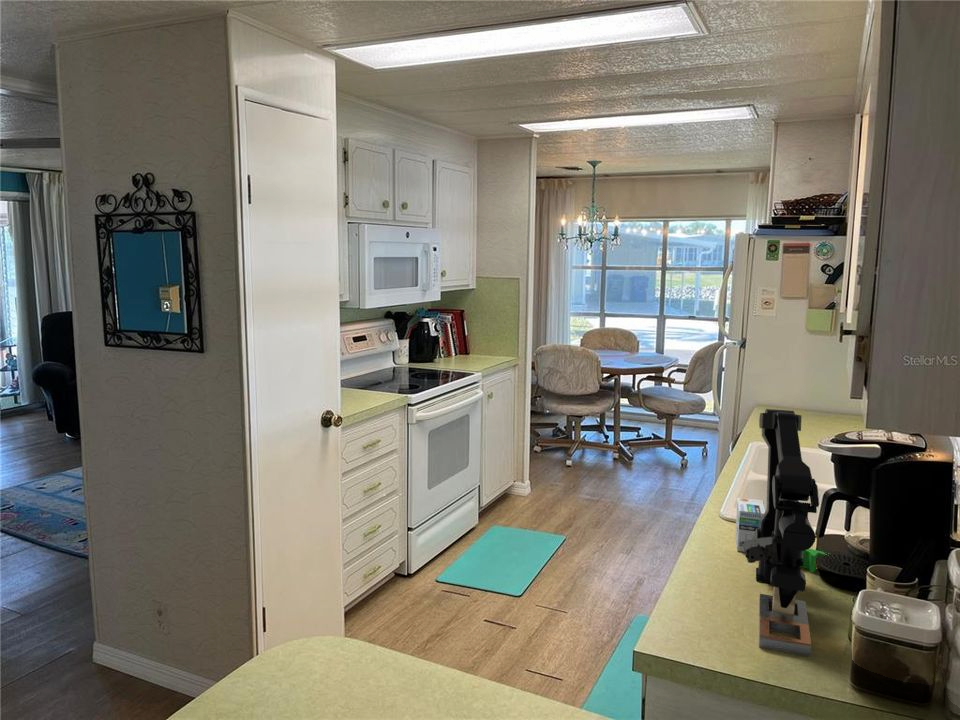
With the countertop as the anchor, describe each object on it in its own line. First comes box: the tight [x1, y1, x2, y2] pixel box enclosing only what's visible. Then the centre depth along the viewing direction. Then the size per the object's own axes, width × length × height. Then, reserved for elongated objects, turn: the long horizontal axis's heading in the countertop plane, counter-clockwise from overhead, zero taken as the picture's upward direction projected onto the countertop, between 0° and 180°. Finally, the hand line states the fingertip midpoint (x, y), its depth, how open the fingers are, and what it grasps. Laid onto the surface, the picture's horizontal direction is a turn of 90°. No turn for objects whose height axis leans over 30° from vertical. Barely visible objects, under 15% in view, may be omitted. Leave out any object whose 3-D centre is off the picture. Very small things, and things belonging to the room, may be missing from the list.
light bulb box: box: [734, 497, 766, 553], centre depth 185 cm, size 11×7×11 cm, turn 164°
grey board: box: [758, 593, 812, 658], centre depth 146 cm, size 19×9×2 cm, turn 159°
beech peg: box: [771, 586, 797, 615], centre depth 150 cm, size 4×4×8 cm
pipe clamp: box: [801, 548, 829, 574], centre depth 173 cm, size 11×4×5 cm, turn 49°
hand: (783, 602), depth 150 cm, fingers closed on beech peg, 4 cm apart
